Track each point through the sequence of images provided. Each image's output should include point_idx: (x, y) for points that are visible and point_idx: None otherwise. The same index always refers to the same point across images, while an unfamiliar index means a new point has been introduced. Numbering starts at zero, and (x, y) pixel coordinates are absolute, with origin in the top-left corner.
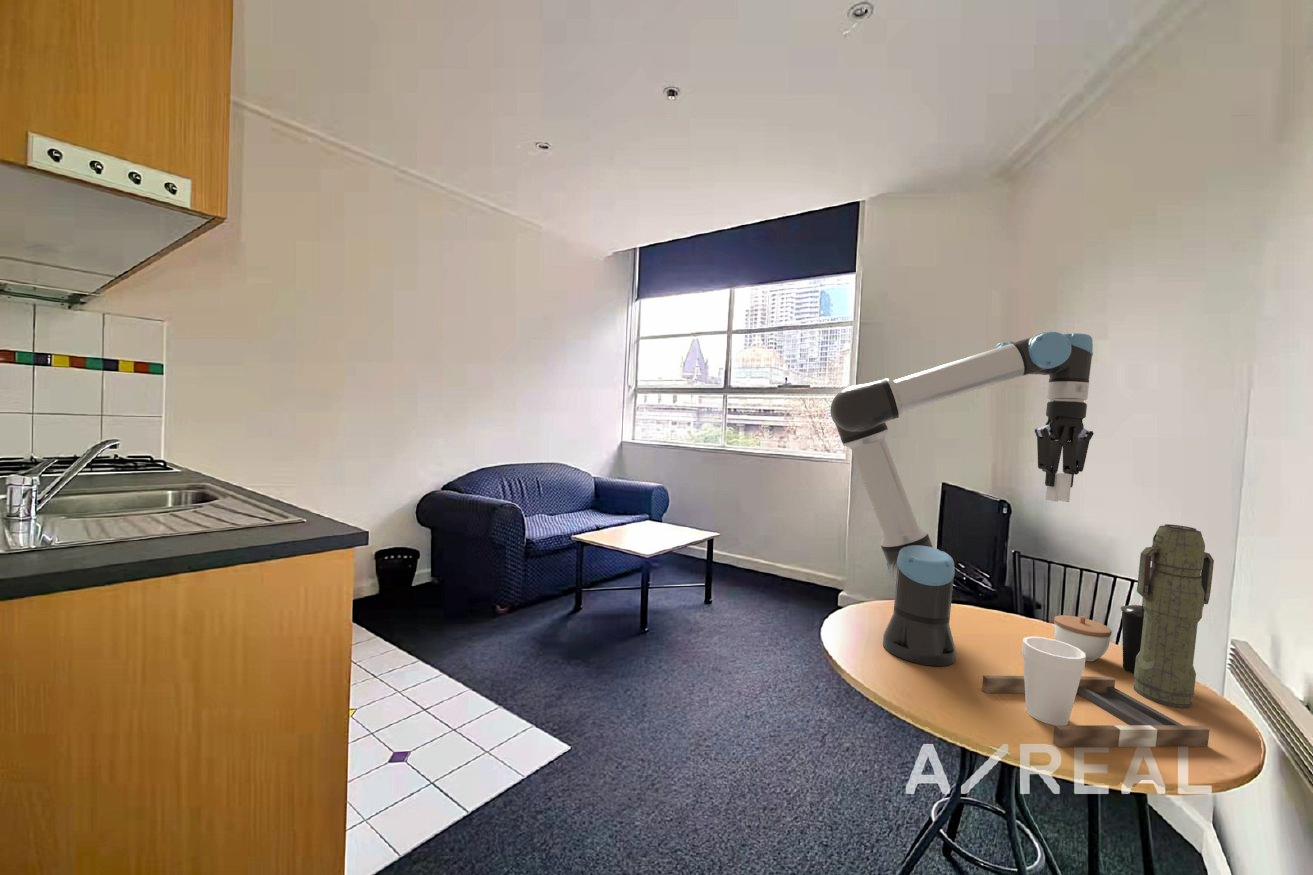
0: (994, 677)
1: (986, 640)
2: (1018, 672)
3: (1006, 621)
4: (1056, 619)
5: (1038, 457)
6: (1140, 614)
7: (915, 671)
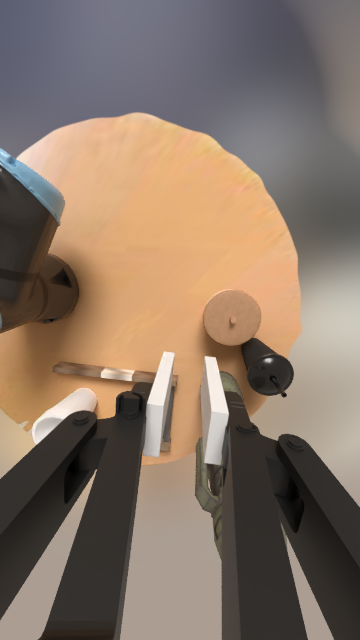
0: (60, 371)
1: (147, 266)
2: (120, 337)
3: (230, 207)
4: (209, 303)
5: (23, 464)
6: (252, 383)
7: (19, 326)
